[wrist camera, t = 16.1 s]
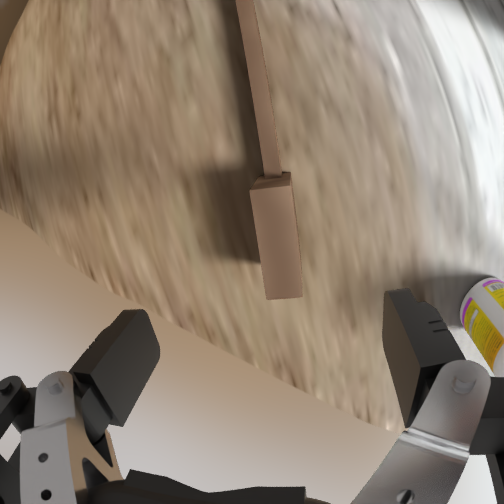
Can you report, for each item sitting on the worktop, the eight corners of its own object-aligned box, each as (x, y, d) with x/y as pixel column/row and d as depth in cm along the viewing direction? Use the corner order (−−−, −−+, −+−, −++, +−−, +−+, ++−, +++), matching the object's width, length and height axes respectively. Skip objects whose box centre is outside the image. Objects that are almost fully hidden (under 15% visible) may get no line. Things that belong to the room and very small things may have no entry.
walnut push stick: (276, -52, 17) (271, -87, 12) (326, 260, 28) (333, 294, 22) (197, -37, 18) (175, -67, 13) (247, 267, 29) (236, 302, 23)
